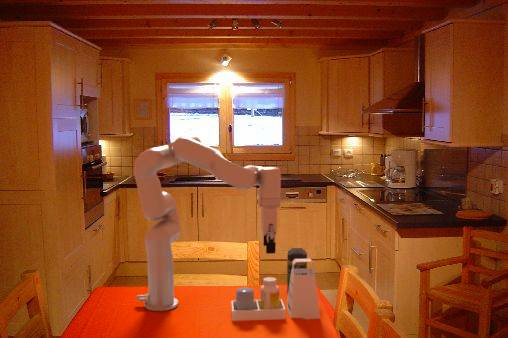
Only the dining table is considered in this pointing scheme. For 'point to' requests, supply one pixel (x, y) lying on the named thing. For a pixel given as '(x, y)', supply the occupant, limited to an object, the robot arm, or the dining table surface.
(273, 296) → the supplement bottle
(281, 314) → the caddy
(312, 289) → the grater
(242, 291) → the grey smooth round piece
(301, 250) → the coffee jar
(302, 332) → the dining table surface
